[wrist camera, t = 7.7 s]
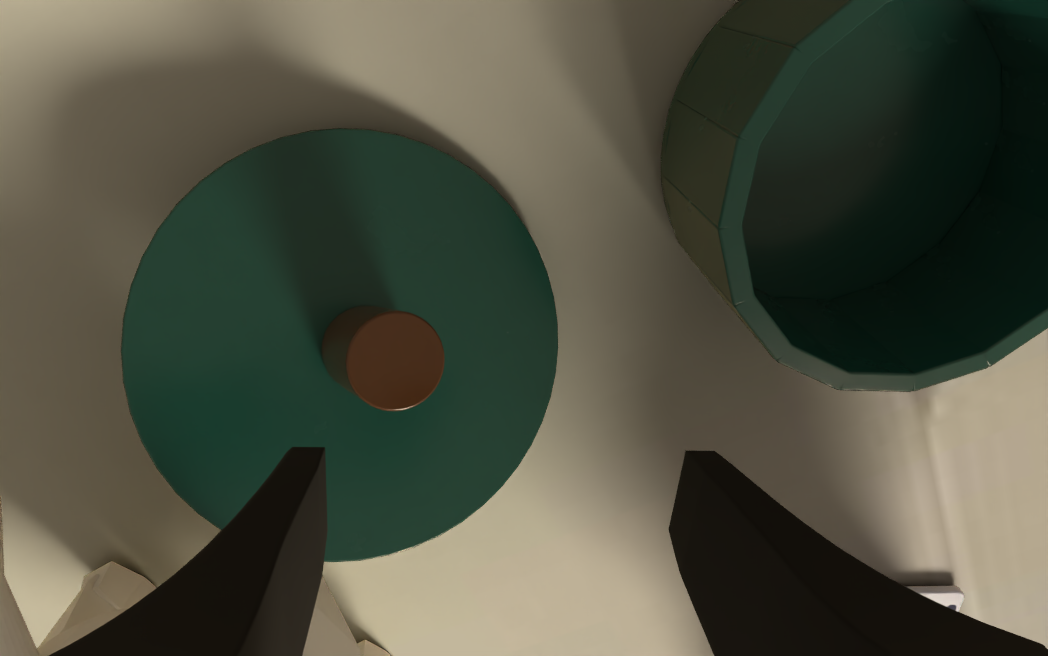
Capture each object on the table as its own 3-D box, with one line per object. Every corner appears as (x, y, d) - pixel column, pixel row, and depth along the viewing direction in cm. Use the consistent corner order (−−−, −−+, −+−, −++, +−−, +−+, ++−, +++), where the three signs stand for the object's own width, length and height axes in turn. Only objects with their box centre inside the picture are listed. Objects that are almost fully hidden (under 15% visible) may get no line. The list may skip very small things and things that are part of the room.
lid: (537, 527, 25) (607, 577, 21) (123, 574, 20) (109, 652, 16) (549, 156, 24) (624, 132, 20) (123, 110, 19) (108, 66, 15)
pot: (939, 313, 27) (1054, 396, 22) (633, 301, 25) (684, 387, 20) (1065, -33, 22) (1249, -28, 17) (698, -76, 20) (784, -83, 15)
